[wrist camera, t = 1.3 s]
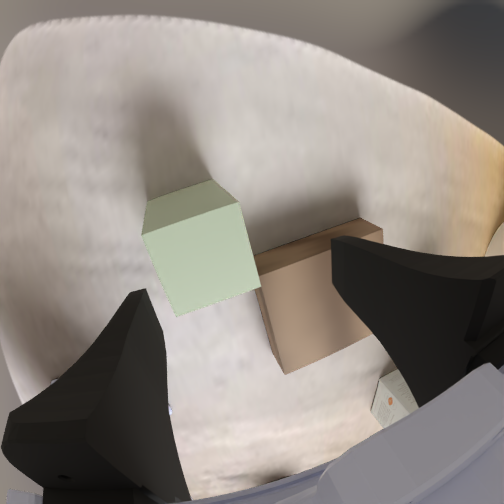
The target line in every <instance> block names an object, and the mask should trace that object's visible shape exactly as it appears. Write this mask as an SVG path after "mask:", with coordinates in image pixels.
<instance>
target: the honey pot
mask: <svg viewBox="0 0 504 504" xmlns="http://www.w3.org/2000/svg"><path fill="white" fill-rule="evenodd" d="M497 255H504V222H503V223H502V224H501V225H500V227H499V228H498V229H497V231H496V232H495V234H494V236H493V237H492V239H491V242H490V244H489V246H488V248H487V251H486V254H485V256H484V257H488V256H497Z"/></svg>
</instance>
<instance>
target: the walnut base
mask: <svg viewBox="0 0 504 504" xmlns="http://www.w3.org/2000/svg"><path fill="white" fill-rule="evenodd" d="M343 235H346V236H353V237H358V238H362V239H366V240H370V241H374V242H377V243H381V244H383V229H382V228H380V227H378V226H376V225H374V224H372V223H370V222H368V221H366V220H364V219H362V218H358V219H355V220H353V221H350V222H347V223H344V224H342V225H339V226H336V227H333V228H330V229H328V230H325V231H322V232H319V233H316V234H313V235H311V236H308V237H305V238H302V239H299V240H297V241H294V242H291V243H288V244H285V245H283V246H280V247H277V248H274V249H271V250H268V251H266V252H263V253H260V254H257V255H254V256H253V257H254V261H255V265H256V268H257V272H258V276H259V280H260V284H261V287H259V288H256V289H255V292H256V295H257V299H258V302H259V306H260V310H261V313H262V317H263V320H264V324H265V327H266V331H267V334H268V338H269V342H270V345H271V349H272V352H273V355H274V356H275V358H276V360H277V362H278V364H279V365H280V367H281V369H282V371H283V373H284V374H285V375H286V374H288V373H291V372H293V371H295V370H298V369H300V368H302V367H305V366H307V365H309V364H311V363H314V362H316V361H318V360H320V359H322V358H325V357H327V356H329V355H331V354H333V353H335V352H337V351H339V350H341V349H344V348H346V347H348V346H350V345H352V344H354V343H356V342H358V341H359V340H361V339H363V338H365V337H367V336H369V335H371V334H373V333H372V332H371V331H370V329H369V328H368V327H367V326H366V325H365V324H364V323H363V322H362V321H361V320H360V318H359V317H358V316H357V315H356V314H355V313H354V312H353V311H352V310H351V308H350V307H349V306H348V305H347V304H346V303H345V302H344V300H343V299H342V298H341V296H340V295H339V293H338V292H337V290H336V288H335V287H334V285H333V284H332V264H331V239H332V238H336V237H339V236H343Z"/></svg>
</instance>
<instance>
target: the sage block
mask: <svg viewBox="0 0 504 504" xmlns="http://www.w3.org/2000/svg"><path fill="white" fill-rule="evenodd" d="M141 236H142V238H143V241H144V243H145V246H146V248H147V251H148V253H149V256H150V258H151V261H152V263H153V265H154V268H155V270H156V273H157V275H158V277H159V280H160V282H161V284H162V286H163V289H164V291H165V293H166V296H167V298H168V300H169V302H170V304H171V307H172V309H173V311H174V313H175V315H176V317H178V316H181V315H184V314H187V313H189V312H192V311H195V310H198V309H201V308H204V307H207V306H209V305H212V304H215V303H218V302H221V301H223V300H226V299H229V298H232V297H234V296H237V295H240V294H243V293H245V292H248V291H251V290H253V289H256V288H259V287H261V284H260V280H259V276H258V272H257V268H256V265H255V261H254V257H253V253H252V249H251V246H250V242H249V238H248V234H247V230H246V227H245V223H244V219H243V215H242V211H241V208H240V204H239V201H237V200H236V199H235V198H234V197H233V196H232V195H231V194H229V193H228V192H227V191H226V190H225V189H224V188H222V187H221V186H220V185H219V184H218V183H217V182H215V181H214V180H213V179H211V180H208V181H205V182H202V183H199V184H196V185H193V186H190V187H187V188H184V189H181V190H178V191H175V192H172V193H169V194H166V195H163V196H160V197H158V198H155V199H152V200H149V201H147V206H146V211H145V217H144V223H143V229H142V235H141Z"/></svg>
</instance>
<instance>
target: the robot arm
mask: <svg viewBox="0 0 504 504" xmlns="http://www.w3.org/2000/svg"><path fill="white" fill-rule="evenodd" d="M331 264H332V284H333V285H334V287H335V288H336V290H337V292H338V293H339V295H340V296H341V298H342V299H343V300H344V302H345V303H346V304H347V305H348V306H349V307H350V308H351V310H352V311H353V312H354V313H355V314H356V315H357V316H358V317H359V318H360V320H361V321H362V322H363V323H364V324H365V325H366V326H367V327H368V328H369V329H370V331H371V332H372V333H373V334H374V335H375V336H376V337H377V339H378V340H379V341H380V342H381V344H382V345H383V347H384V348H385V350H386V351H387V352H388V354H389V355H390V357H391V358H392V360H393V361H394V363H395V365H396V366H397V368H398V370H399V371H400V373H401V375H402V376H403V378H404V380H405V382H406V383H407V385H408V387H409V389H410V391H411V393H412V395H413V396H414V399H415V401H416V403H417V405H418V407H419V409H417V410H415V411H414V412H412V413H411V414H409V415H407V416H405V417H404V418H402V419H400V420H399V421H397V422H395V423H393V424H391V425H390V426H388V427H386V428H384V429H382V430H380V431H378V432H377V433H375V434H373V435H372V436H370V437H369V438H367V439H365V440H364V441H362V442H360V443H358V444H357V445H355V446H353V447H351V448H350V449H349V450H347V451H346V452H345V453H344V454H342V455H341V456H340V457H338V458H336V459H334V460H331V461H329V462H327V463H324V464H322V465H319V466H317V467H314V468H312V469H309V470H306V471H304V472H301V473H298V474H295V475H292V476H289V477H286V478H283V479H280V480H277V481H274V482H271V483H267V484H264V485H260V486H257V487H253V488H249V489H245V490H241V491H237V492H233V493H229V494H224V495H220V496H215V497H210V498H204V499H198V500H193V498H192V497H191V496H190V494H189V491H188V488H187V485H186V482H185V478H184V475H183V471H182V468H181V464H180V460H179V457H178V453H177V448H176V444H175V440H174V435H173V430H172V425H171V420H170V415H171V414H172V409H171V407H170V406H169V405H168V389H167V359H166V348H165V341H164V335H163V330H162V328H161V326H160V323H159V321H158V318H157V316H156V313H155V311H154V308H153V306H152V303H151V301H150V298H149V296H148V293H147V290H146V288H145V289H141V290H137V291H133V292H130V293H129V294H128V296H127V297H126V298H125V300H124V301H123V303H122V304H121V306H120V307H119V309H118V310H117V312H116V313H115V314H114V316H113V317H112V319H111V320H110V322H109V323H108V324H107V326H106V327H105V328H104V330H103V331H102V332H101V334H100V335H99V336H98V338H97V339H96V340H95V342H94V343H93V344H92V345H91V346H90V348H89V349H88V350H87V351H86V352H85V353H84V354H83V355H82V356H81V358H80V359H79V360H78V361H77V362H76V363H75V364H74V365H73V366H72V367H70V368H69V369H68V370H67V371H66V372H65V373H64V374H63V375H62V376H61V377H60V378H59V379H55V380H52V381H51V385H50V386H49V387H48V388H46V389H45V390H44V391H42V392H41V393H40V394H38V395H37V396H35V397H34V398H33V399H31V400H29V401H28V402H26V403H25V404H23V405H21V406H20V407H18V408H17V409H15V410H13V411H12V412H10V413H9V417H8V420H7V424H6V428H5V432H4V436H3V441H2V445H1V449H2V452H3V454H4V456H5V457H6V458H7V460H8V461H9V462H10V463H11V464H12V465H13V466H14V467H16V468H17V469H18V470H19V471H21V472H22V473H23V474H25V475H26V476H27V477H29V478H30V479H32V480H33V481H34V482H36V483H37V484H39V485H40V486H42V487H43V488H44V490H43V496H41V495H38V494H36V493H31V492H25V491H19V490H13V489H9V490H8V492H7V502H6V504H504V255H497V256H488V257H455V256H442V255H434V254H427V253H420V252H415V251H410V250H406V249H401V248H397V247H393V246H389V245H385V244H381V243H377V242H374V241H370V240H366V239H362V238H358V237H353V236H346V235H343V236H339V237H336V238H332V239H331Z"/></svg>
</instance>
